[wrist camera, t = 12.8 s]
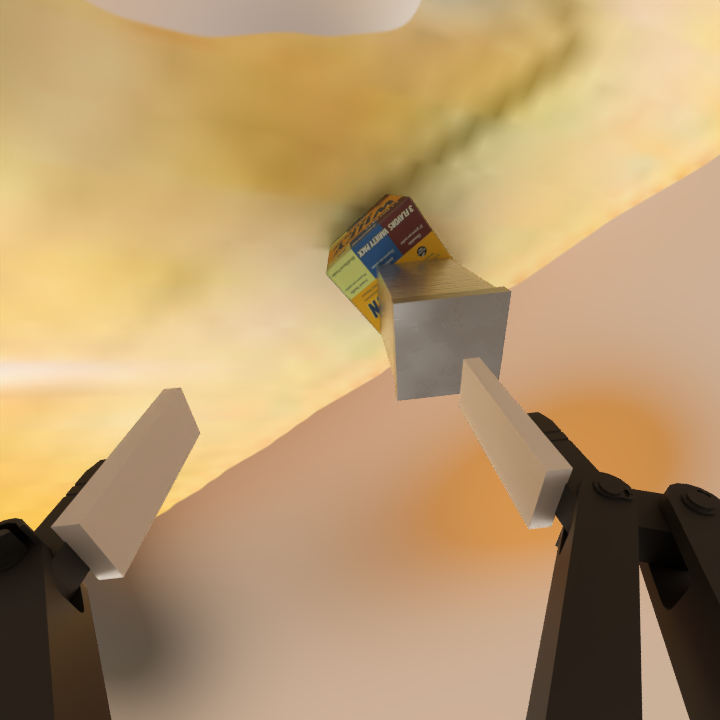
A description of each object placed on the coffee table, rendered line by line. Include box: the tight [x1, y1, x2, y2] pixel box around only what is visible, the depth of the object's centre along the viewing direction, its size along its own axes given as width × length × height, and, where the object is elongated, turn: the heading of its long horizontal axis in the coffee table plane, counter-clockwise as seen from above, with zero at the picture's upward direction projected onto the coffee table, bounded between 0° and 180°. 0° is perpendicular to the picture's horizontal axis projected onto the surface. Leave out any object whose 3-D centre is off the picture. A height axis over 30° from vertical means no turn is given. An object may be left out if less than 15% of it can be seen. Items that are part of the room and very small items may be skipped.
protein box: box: [326, 195, 454, 334], centre depth 39 cm, size 10×15×16 cm
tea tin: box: [376, 258, 511, 401], centre depth 27 cm, size 7×7×12 cm
